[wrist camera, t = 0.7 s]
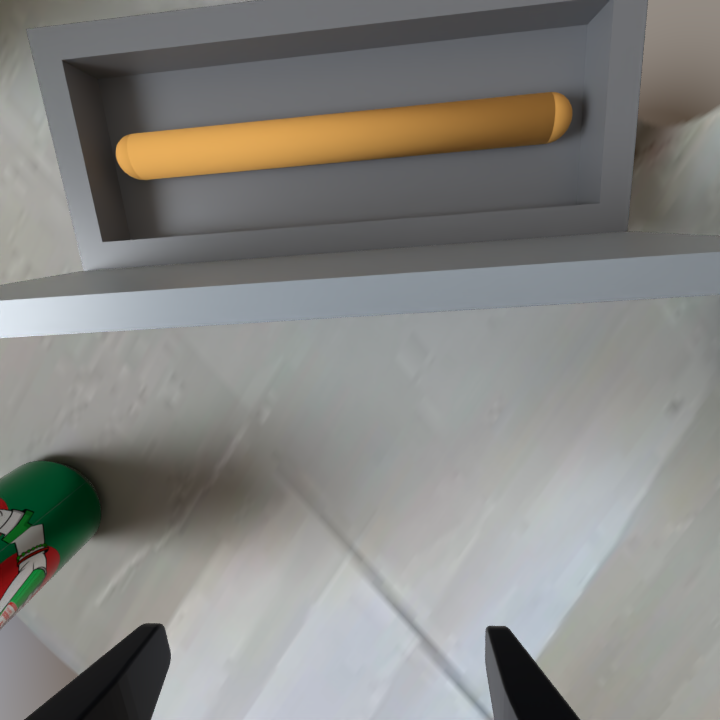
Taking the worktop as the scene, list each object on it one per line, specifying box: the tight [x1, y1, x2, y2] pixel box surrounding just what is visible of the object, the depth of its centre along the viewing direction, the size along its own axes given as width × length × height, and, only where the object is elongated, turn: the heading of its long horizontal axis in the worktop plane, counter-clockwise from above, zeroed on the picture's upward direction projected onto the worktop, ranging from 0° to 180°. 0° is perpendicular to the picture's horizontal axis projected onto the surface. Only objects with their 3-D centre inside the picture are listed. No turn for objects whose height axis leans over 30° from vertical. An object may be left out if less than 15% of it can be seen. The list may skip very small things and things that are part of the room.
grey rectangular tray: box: [26, 0, 648, 271], centre depth 16 cm, size 20×8×2 cm, turn 94°
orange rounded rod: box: [116, 92, 572, 180], centre depth 16 cm, size 17×2×2 cm, turn 94°
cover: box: [0, 231, 720, 338], centre depth 12 cm, size 20×8×1 cm
